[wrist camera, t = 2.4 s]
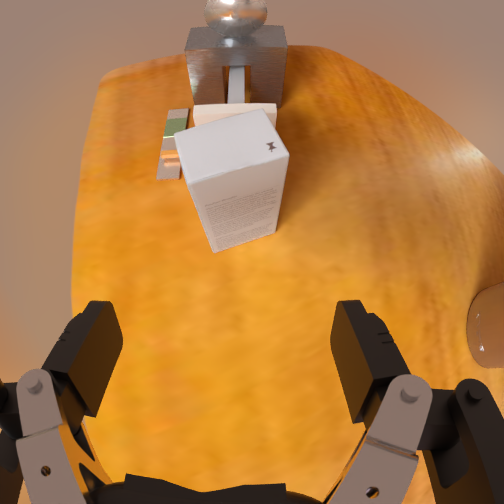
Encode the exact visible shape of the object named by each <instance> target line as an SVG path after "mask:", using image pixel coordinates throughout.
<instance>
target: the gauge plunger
mask: <svg viewBox="0 0 504 504" xmlns="http://www.w3.org/2000/svg"><path fill="white" fill-rule="evenodd" d="M261 108H263V109H264V111H265V113H266V114H267V116H268V118H269V119H270V121H271V123H272V124H273V126H274V128H275V125H276V117H277V109H276V104H273V103H245V78H244V66H230V70H229V88H228V104H209V105H194V111H193V118H194V123H195V127H196V126H199V125H202V124H205V123H209V122H212V121H216V120H219V119H223V118H226V117H230V116H234V115H237V114H241V113H245V112H249V111H253V110H257V109H261ZM177 157H179V155H178V152H177V150H164V151H161V158H162V159H163V158H177Z"/></svg>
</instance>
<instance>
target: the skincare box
mask: <svg viewBox="0 0 504 504" xmlns="http://www.w3.org/2000/svg"><path fill="white" fill-rule="evenodd" d="M174 139H175V144H176V148H177V152H178V155H179V159H180V163H181V167H182V170H183V174H184V177H185V180H186V184H187V186H188V189H189V191H190V194H191V196H192V199H193V201H194V204H195V206H196V209H197V212H198V214H199V217H200V220H201V222H202V225H203V228H204V230H205V233H206V235H207V238H208V241H209V243H210V246H211V249H212V251H213V252H214V253H217V252H219V251H222V250H225V249H228V248H231V247H234V246H237V245H240V244H243V243H246V242H249V241H252V240H255V239H258V238H261V237H264V236H267V235H270V234H273V233H275V231H276V226H277V221H278V216H279V210H280V205H281V200H282V194H283V189H284V184H285V178H286V172H287V167H288V162H289V157H290V154H289V152H288V150H287V148H286V147H285V145H284V143H283V142H282V140H281V138H280V136H279V135H278V133H277V131H276V130H275V128H274V126H273V124H272V123H271V121H270V119H269V118H268V116H267V114H266V113H265V111H264V109H263V108H261V109H257V110H253V111H249V112H245V113H241V114H237V115H234V116H230V117H226V118H223V119H219V120H216V121H212V122H209V123H205V124H202V125H199V126H196V127H192V128H189V129H186V130H183V131H180V132H176V133H174Z"/></svg>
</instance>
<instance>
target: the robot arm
mask: <svg viewBox="0 0 504 504" xmlns="http://www.w3.org/2000/svg"><path fill="white" fill-rule="evenodd" d="M467 338H468V344H469V348H470V351H471V353H472V355H473V358H474V359H475V360H476V362H477V363H478V364H480V365H481V366H482V367H485V368H504V282H502V283H499V284H497V285H494V286H491V287H489V288H486V289H484V290H482V291H481V292H480V293H479V294H478V295H477V296H476V297H475V299H474V300H473V303H472V305H471V307H470V311H469V314H468V321H467ZM330 343H331V350H332V354H333V357H334V360H335V364H336V367H337V370H338V374H339V377H340V380H341V384H342V387H343V391H344V394H345V397H346V401H347V404H348V408H349V412H350V415H351V419H352V422H353V424H354V423H360V422H364V425H365V428H366V430H365V431H364V433H363V435H362V437H361V439H360V441H359V443H358V445H357V446H356V448H355V450H354V452H353V454H352V455H351V457H350V459H349V461H348V462H347V464H346V466H345V468H344V469H343V471H342V473H341V474H340V476H339V477H338V479H337V480H336V482H335V483H334V485H333V486H332V488H331V489H330V491H329V492H328V494H327V495H326V497H325V498H324V500H323V501H322V502H320V501H318V500H316V499H314V498H312V497H309V496H306V495H304V494H300V493H296V492H291V491H286V484H285V483H281V484H261V485H242V486H237V487H232V488H227V489H222V490H216V491H210V492H198V491H194V490H191V489H188V488H185V487H182V486H179V485H176V484H173V483H170V482H167V481H165V480H162V479H155V478H149V477H143V476H137V475H132V474H127V473H126V476H125V481H124V482H116V483H113V482H112V480H111V479H110V477H109V476H108V475H107V473H106V472H105V471H104V469H103V468H102V466H101V464H100V462H99V460H98V457H97V455H96V453H95V451H94V448H93V446H92V444H91V441H90V439H89V436H88V434H87V431H86V429H85V426H84V424H83V423H82V420H83V417H84V415H86V416H90V417H95V418H96V415H97V412H98V410H99V407H100V404H101V401H102V399H103V396H104V393H105V390H106V388H107V385H108V382H109V380H110V377H111V375H112V372H113V370H114V367H115V365H116V362H117V360H118V357H119V355H120V352H121V350H122V345H123V336H122V332H121V329H120V326H119V323H118V320H117V317H116V314H115V310H114V307H113V305H112V303H111V302H110V301H90V302H89V303H88V305H87V307H86V308H85V310H84V311H83V313H79V314H78V315H77V316H75V317H74V318H73V319H72V320H71V321H70V322H69V323H68V325H67V326H66V328H65V329H64V333H62V335H61V336H60V337H59V341H57V342H56V344H55V346H54V347H53V349H52V351H51V352H50V354H49V356H48V357H47V359H46V361H45V363H44V364H43V366H42V368H41V369H33V370H30V371H28V372H26V373H25V374H24V375H23V376H22V377H21V378H20V379H19V381H18V382H15V383H2V381H1V379H0V428H1V429H2V431H1V433H0V504H17V503H18V498H19V494H20V490H21V486H22V482H23V479H24V481H25V485H26V487H27V491H28V494H29V498H30V501H31V504H401V503H402V501H403V499H404V496H405V494H406V492H407V490H408V487H409V485H410V482H411V480H412V477H413V475H414V472H415V470H416V467H417V464H418V460H419V457H418V455H416V450H422V452H423V456H424V459H425V463H426V466H427V470H428V474H429V477H430V481H431V485H432V489H433V493H434V497H435V501H436V504H504V419H503V417H502V415H501V413H500V410H499V408H498V406H497V404H496V403H495V401H494V399H493V397H492V395H491V393H490V391H489V389H488V388H487V387H486V385H484V384H483V383H482V382H480V381H478V380H476V379H465V380H462V381H461V382H460V383H459V384H458V385H457V387H456V388H455V390H443V389H431V388H430V386H429V384H428V383H427V382H426V381H425V380H423V379H422V378H420V377H418V376H415V375H411V373H410V371H409V369H408V367H407V365H406V363H405V361H404V359H403V357H402V355H401V353H400V351H399V349H398V347H397V346H396V344H395V343H394V340H393V338H392V336H391V334H389V330H388V329H387V327H386V325H385V323H384V321H382V320H381V319H380V318H379V317H378V316H376V315H375V314H374V313H367V312H366V310H365V308H364V306H363V304H362V303H361V301H360V300H346V301H338V303H337V306H336V311H335V316H334V321H333V326H332V331H331V337H330Z"/></svg>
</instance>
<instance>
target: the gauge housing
mask: <svg viewBox="0 0 504 504" xmlns="http://www.w3.org/2000/svg"><path fill="white" fill-rule="evenodd" d="M204 17H205V20H206V22H207V24H208V26H209V27H197V28H191V30H190V33H189V37H188V40H187V43H186V47H185V56H186V61H187V67H188V72H189V78H190V83H191V88H192V94H193V99H194V104H195V105H209V104H225V100H226V84H227V81H226V66H245V65H250V98H251V103H273V104H276V108H281V100H282V92H283V84H284V75H285V67H286V59H287V50H288V46H287V42H286V37H285V32H284V28H283V26H273V25H263V24H264V23H265V20H266V18H267V7H266V3H265V1H264V0H208V1H207V3H206V6H205V10H204ZM188 113H189V108H187V109H175V110H169V113H168V117H167V121H166V126H165V131H164V136H163V142H162V148H161V151H164V150H177V148H176V144H175V139H174V133H176V132H180V131H183V130H186V126H187V119H188ZM180 171H181V163H180V159H179V157H177V158H163V159H162V158H161V153H160V159H159V165H158V171H157V177H156V180H157V181H163V180H179V179H180Z"/></svg>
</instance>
